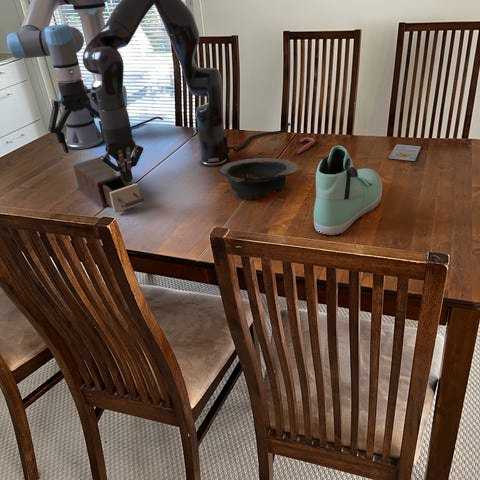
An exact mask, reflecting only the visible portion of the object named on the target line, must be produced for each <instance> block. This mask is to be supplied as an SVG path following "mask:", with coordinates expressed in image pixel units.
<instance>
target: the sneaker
mask: <svg viewBox="0 0 480 480" xmlns="http://www.w3.org/2000/svg"><path fill="white" fill-rule="evenodd" d="M317 165H318V166H317V168H316V172H315V201H314V207H313V225H314V229H315V231H316V232H318V233H320V234H323V235H326V236H327V235H328V236H336V235H339V234H342V233H344V232H345V231H347V230H348V229H349V228H350V227H351V226H352V225H353V224H354V222H356V221H357V220H358V219H359V218H360V217H362V216H363V215H365V214H367V213H370V212H372V210H374V209H375V208H377V207H378V205H380V203H381V200H382V196H383V184H382V183H383V182H382V179H381V176H380V175H379V173H378V172H377V171H376V170H374V169H372V168H367V167H365V168H358V169H357V168H355V167H354V161H353V159H352V158H351V156H350V153H349V152H348V150H347V148H345V147H344V146H342V145H334V146H333V147H331V149H330V151H329V154H327V155H326V156H325V157H324V158H322V159H321V160H320V161H319V163H318V164H317ZM343 230H344V231H343ZM319 231H320V232H319ZM322 232H323V233H322ZM339 232H340V233H339ZM326 233H327V234H326ZM328 233H329V234H328ZM335 233H337V234H335Z"/></svg>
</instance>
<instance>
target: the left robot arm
mask: <svg viewBox="0 0 480 480" xmlns="http://www.w3.org/2000/svg"><path fill="white" fill-rule="evenodd" d="M108 1H109V0H30V3H29V5H28V7H27V10H26V13H25V15H24V18H23V21H22V24H21V25H20V26H21V27H20V29H19V32H17V31H14V32H10V33H8V34H7V37H6V44H7V48H8V50H9V53H10V54H11V56H12V57H13V58H15V59H31V58H41V57H50V59H51V62H52V66H53V71H54V75H55V79H56V81H57V87H58V90H59V94H58V99H57V100H56V99H52V100H51V106H52V107H51V112H50V119H49V123H48V129H47V131H48V132H49V133H50V134H55V136H56V140H57V142H58V144H61V147H62V150H63V152H64V153H66V154H69V153H70V151H69V149H70V150H85V149H92V148H94V147H97V146H99V145H102V143H104V142H105V138H104V134H103V129H102V125H101V120H100V113H99V107H98V102H97V98H96V87H97V86H99V85H101V84H102V75H101V74H94V73H91V74H92V79H93V80H92V82H91V84H90V86H91V88H88V86H87V85H86V84H84V79H82V78H83V76H82V75H83V74H82V71H81V66H80V61H79V57H78V54H77V53H80V52H81V50H82V48H83V47H84V44H85V47H86V46H87V45H88V44H89V42H90V41H91V40H92V39H93V38H94V37H95V36H96V35H97V34H98V33H99V32H100V31H101V30H102V29H103V28H104V27H105V25H106V23H105V17H104V11H105V9H106V3H107V2H108ZM66 5H67V6H69V5H70V6H71V5H72V7H73V11H74V12H75V13H77V14H78V16H79V20H80V25H81V28H82V31H81V30H80V29H78V28H77V27H76V26H75V27H74V26H70V25H68V24H64V23H63V24H62V23H61V24H53V25H50V24H51V21H52V18H53V15H54V13H55V11H56V10H57V9H58V8H59V6H66ZM123 95H124V100H125V105H126V109H127V110H128V93H127V89H126V86H125V85H123ZM60 108H61V115H60V117H59V119H58V116H59V112H60ZM95 119H99V121H98V125H99V127H98V125H97V124H96V121H95ZM154 120H155V121H156V120H160V121H164V120H165V119H164V118H163V117H161V116H153V117H152V118H149V119H147V120H143V121H141V122H139V123H136V124H134V125H130V126H131V130H132V129H135V128H138V127H140V126H142V125H144V124H148V123H150V122H152V121H154ZM65 126H66V133H64V132H63V128H64V127H65Z"/></svg>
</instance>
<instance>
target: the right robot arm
mask: <svg viewBox="0 0 480 480" xmlns="http://www.w3.org/2000/svg"><path fill="white" fill-rule="evenodd" d="M153 6H154V7H155V9H156V10H157V13H158V15H159V17H160V19H161V21H162V24H163V27H164V30H165V32H166V34H167V37H168V39H169V41H170V43H171V45H172V47H173V50H174V52H175V54H176V57H177V59H178V62H179V64H180V67H181V71H182V73H183V77H184V80H185V84H186V86H187V89H188V91H189V92H190V94H191V95H193V96H194V97H195V96H196V97H207V98H208V102H207V103H204V104H201V105H199V106H198V107H196V110H195V116H196V124H197V132H198V133H197V134H198V141H199V150H200V160H201V164H202V165H204V166H207V167H217V166H221V165H225V164H226V163H227V162H228V161H230V158H229V157H230V156H229V154H230V152H231V151H230V150H233V151H234V152H238V151H240V150H241V149H242V148H243V147H245V146H246V145H247V144H248V142H249V141H250V140H251V139H254V138H256V137H263V136H266V135H271V134H281V133H284V132H286V131H287V130H288V129H289V126H292V125H291V122H287V124H286V126H285V128H284V129H281V130H274V131H269V132H268V131H267V132H262V133H258V134H254V135H251V136H248V138H247V139H246V140H245V142H244V143H243V144H242V145H240V146H239V147H236V148H235V147H234V146H229V145H228V137H227V135H226V134H225V126H224V116H223V115H224V113H223V105H224V104H223V101H224V100H223V79H222V76H221V75H222V74H221V72H220V70H219V69H218V68H216V67H199V66H198V65H197V63H196V60H195V55H196V51H197V48H198V46H199V43H200V31H199V27H198V25H197V22H196V20H195V16H194V15H193V13H192V11H191V10H190V8H189V7H188V6H187V4H185V2H184V1H183V0H121V1H119V3H118V4H116V7H114V9H113V11H112V12H111V14H110V15H109V18H108V19H107V21H106V23H105V27H104V28H103V29H102V30H101V31H100V32H99V33H98V34H97V35H96V36H95V37H94V38H93V39H92V40H91V41H90V42H89V44H88V45H87V46H86V45H85V48H84V50H83V53H82V64H83V67H84V68H85V69H86V71H88V72H89V73H91V74H92V73H94V74H101V75H102V84H101V85H99V86H97V87H96V98H97V102H98V107H99V113H100V119H99V121H101V125H102V129H103V134H104V138H105V141H104V142H105V145H106V146H105V148H104V149H105V152H104V154H102V155H100V156H99V157H100V160H102V161H103V162H104V163H106V164H107V165H108V166H110V167H111V168H112V169H114V170H115V171H117V172H119V171H120V174H121V179H122V181H124V182H125V183H130V182H131V183H133V182H132V180H133V173H132V169H133V167H137V165H138V163H139V161H140V158H141V156H142V154H143V152H144V147H143V146H141V145H139V144H136V142H135V140H134V137H133V132H132V129H131V126H132V125H131V121H130V116H129V112H128V108H127V109H126V105H125V100H124V95H123V86H124V72H125V71H124V69H125V65H124V59H123V57H122V55H121V53H120V51H119V49H122V48H125V47H127V46H129V43H130V42H131V40H132V39H133V37H134V35H135V33H136V32H137V30H138V28H139V26H140V25H141V23H142V21H143V20H144V18H145V17H146V16H147V14H148V13H149V11H150V10H151V8H152V7H153ZM111 158H113V159H114V160H115V162H116V164H115V163H113V162H112V161H111Z"/></svg>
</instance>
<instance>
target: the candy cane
mask: <svg viewBox="0 0 480 480" xmlns="http://www.w3.org/2000/svg"><path fill="white" fill-rule="evenodd" d="M304 142H308V143H306V144H305V145H303V146H302V147H300V148H298V149H296V152H295V153H296V154H297V155H299V154H301V153H303V152H304V151H305V150H307V149H308V148H310V147H312V145H314V144H315V143H316V139H315V138H313V137H310V136H309V137H308V136H307V137H302V138H300V140H299V143H300V144H302V143H304Z"/></svg>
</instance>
